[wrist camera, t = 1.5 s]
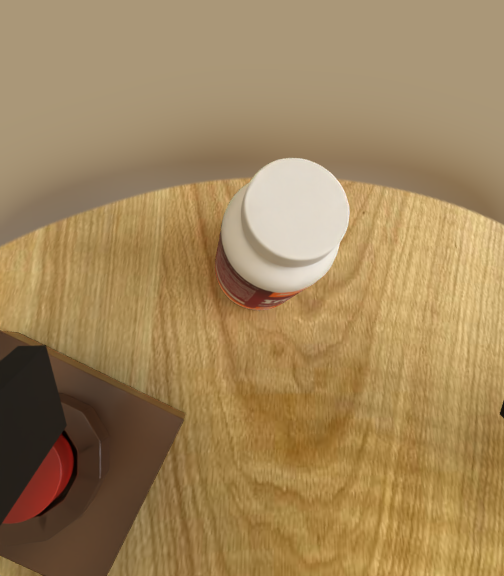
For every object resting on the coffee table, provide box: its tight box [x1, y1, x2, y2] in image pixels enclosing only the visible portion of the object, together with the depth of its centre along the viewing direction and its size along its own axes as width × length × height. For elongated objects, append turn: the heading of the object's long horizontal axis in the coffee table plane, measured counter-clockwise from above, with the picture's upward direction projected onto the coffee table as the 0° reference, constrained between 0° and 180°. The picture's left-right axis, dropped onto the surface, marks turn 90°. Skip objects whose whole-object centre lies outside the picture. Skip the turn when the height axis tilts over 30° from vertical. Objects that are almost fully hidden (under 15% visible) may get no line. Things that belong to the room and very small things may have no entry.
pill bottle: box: [215, 158, 349, 310], centre depth 20 cm, size 6×6×11 cm
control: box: [0, 330, 185, 576], centre depth 20 cm, size 12×10×4 cm
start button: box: [2, 434, 74, 524], centre depth 18 cm, size 4×4×2 cm
